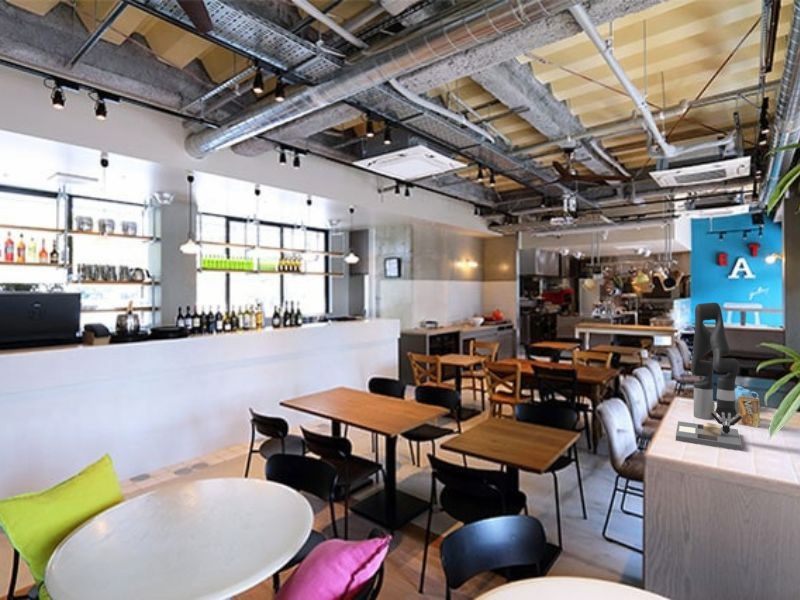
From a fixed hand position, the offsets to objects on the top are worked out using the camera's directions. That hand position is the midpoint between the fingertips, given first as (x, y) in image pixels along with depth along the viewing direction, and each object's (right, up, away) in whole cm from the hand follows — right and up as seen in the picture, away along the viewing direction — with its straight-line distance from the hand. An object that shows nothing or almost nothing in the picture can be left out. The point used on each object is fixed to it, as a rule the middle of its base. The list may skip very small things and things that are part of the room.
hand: (726, 432), depth 218 cm
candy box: (+30, -3, +23) cm, 38 cm away
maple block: (-5, -1, +3) cm, 6 cm away
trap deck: (-6, -4, +4) cm, 8 cm away
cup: (+35, -3, +38) cm, 52 cm away
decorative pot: (+51, -2, +57) cm, 77 cm away
